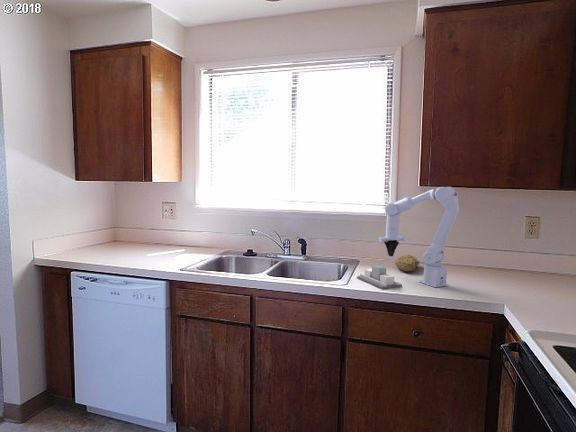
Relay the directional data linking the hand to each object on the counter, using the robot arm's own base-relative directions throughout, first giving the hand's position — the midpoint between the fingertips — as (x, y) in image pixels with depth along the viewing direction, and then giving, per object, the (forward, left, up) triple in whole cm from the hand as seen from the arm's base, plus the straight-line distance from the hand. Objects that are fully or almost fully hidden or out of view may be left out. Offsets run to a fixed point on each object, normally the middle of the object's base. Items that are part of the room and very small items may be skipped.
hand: (390, 255), depth 180 cm
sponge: (+6, -17, -10) cm, 20 cm away
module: (-9, +14, -8) cm, 18 cm away
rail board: (-9, +14, -9) cm, 19 cm away
